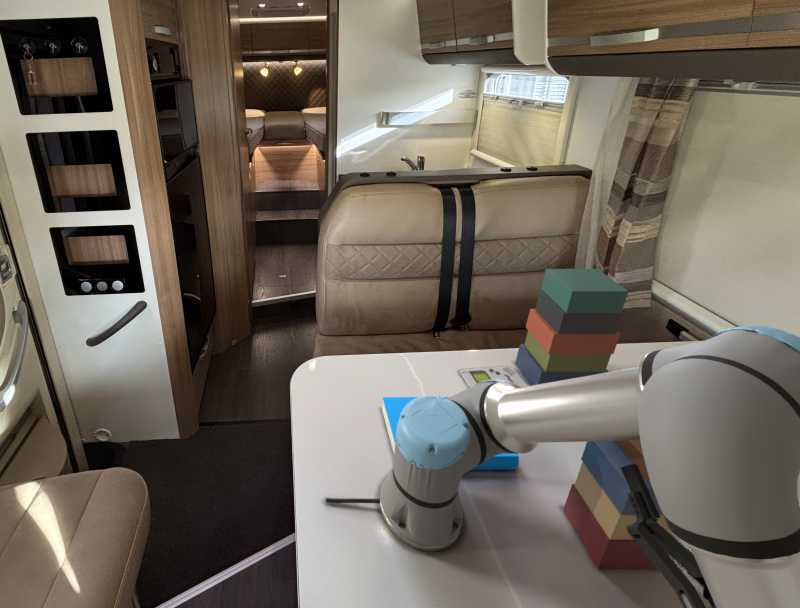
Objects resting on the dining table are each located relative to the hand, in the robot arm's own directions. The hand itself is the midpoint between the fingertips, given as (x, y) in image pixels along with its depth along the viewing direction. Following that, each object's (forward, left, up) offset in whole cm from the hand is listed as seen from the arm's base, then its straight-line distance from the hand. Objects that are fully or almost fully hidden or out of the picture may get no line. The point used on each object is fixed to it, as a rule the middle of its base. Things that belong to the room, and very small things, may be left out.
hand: (673, 465), depth 64 cm
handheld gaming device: (-4, +44, -24) cm, 50 cm away
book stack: (+14, +45, -24) cm, 53 cm away
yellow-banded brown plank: (0, +6, -4) cm, 8 cm away
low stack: (0, +4, -24) cm, 24 cm away
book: (-23, +25, -24) cm, 42 cm away
